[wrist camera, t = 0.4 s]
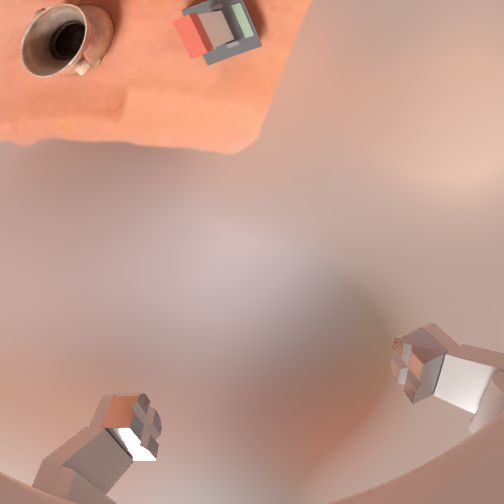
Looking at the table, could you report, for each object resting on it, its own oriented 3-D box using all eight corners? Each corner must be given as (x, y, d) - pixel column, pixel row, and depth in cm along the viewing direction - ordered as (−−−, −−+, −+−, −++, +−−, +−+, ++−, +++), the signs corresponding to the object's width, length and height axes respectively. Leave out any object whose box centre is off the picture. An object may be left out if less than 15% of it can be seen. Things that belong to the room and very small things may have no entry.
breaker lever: (225, 43, 37) (191, 58, 30) (211, 13, 33) (173, 21, 25) (238, 38, 36) (207, 52, 29) (225, 8, 32) (189, 14, 24)
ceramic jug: (134, 44, 37) (116, 41, 26) (77, 92, 39) (46, 107, 29) (89, -12, 25) (61, -27, 14) (34, 38, 27) (-4, 42, 17)
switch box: (206, 64, 43) (209, 66, 37) (182, 13, 35) (181, 8, 29) (256, 46, 42) (266, 46, 36) (234, -5, 34) (241, -13, 28)
